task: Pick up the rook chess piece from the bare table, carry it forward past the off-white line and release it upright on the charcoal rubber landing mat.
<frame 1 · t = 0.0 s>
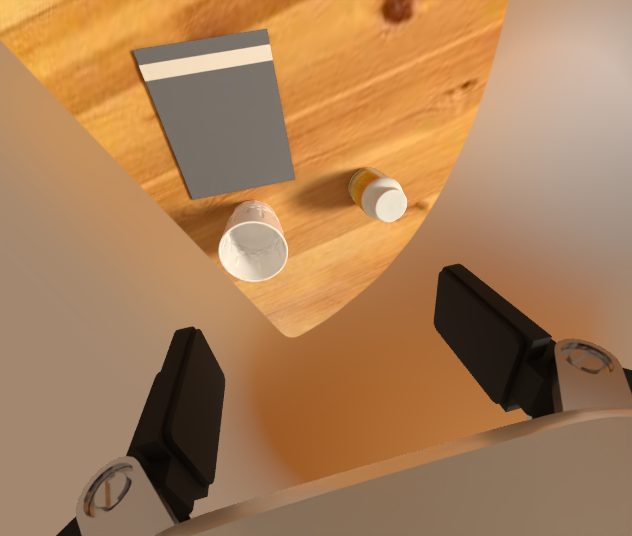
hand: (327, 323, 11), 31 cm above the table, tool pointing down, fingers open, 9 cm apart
supplement bottle: (364, 185, 41), on the table
landing mat: (226, 123, 34), on the table
white cup: (254, 221, 41), on the table
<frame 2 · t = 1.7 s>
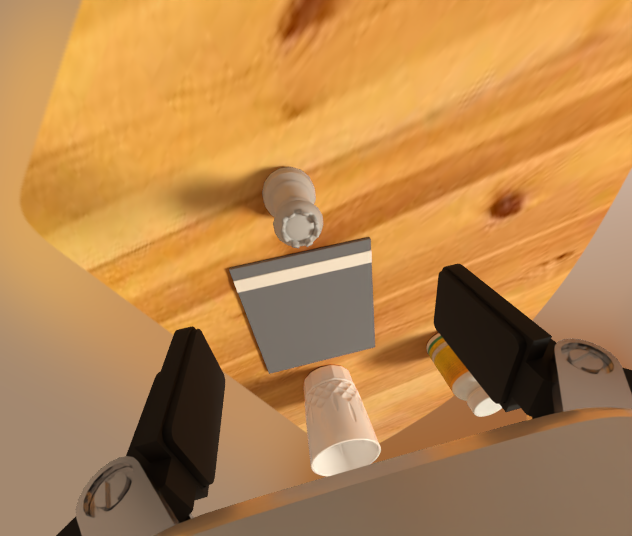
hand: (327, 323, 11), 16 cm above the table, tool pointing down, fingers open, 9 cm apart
rook chess piece: (288, 191, 24), on the table
supplement bottle: (442, 340, 39), on the table
landing mat: (313, 312, 31), on the table
white cup: (326, 379, 39), on the table
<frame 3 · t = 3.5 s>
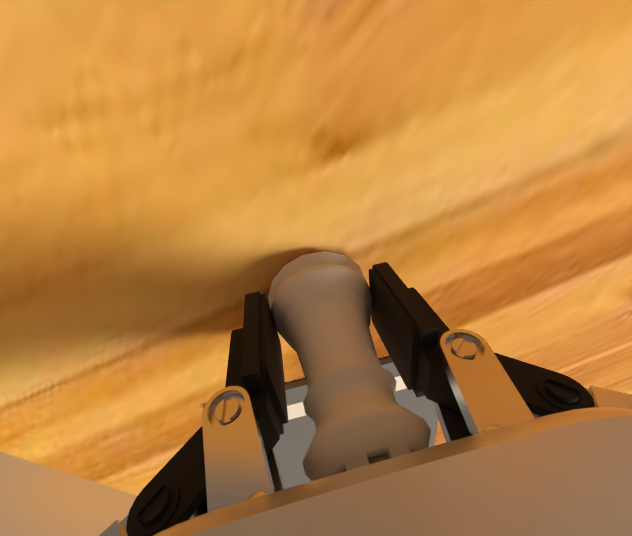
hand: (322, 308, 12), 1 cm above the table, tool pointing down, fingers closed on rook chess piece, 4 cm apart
rook chess piece: (316, 286, 13), on the table, touching gripper
landing mat: (344, 441, 20), on the table
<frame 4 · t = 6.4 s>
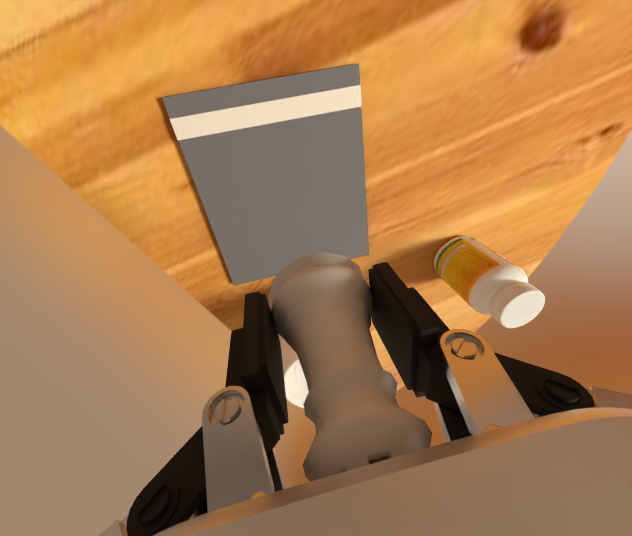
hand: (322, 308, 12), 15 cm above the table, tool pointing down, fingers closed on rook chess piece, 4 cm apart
rook chess piece: (316, 287, 13), point 14 cm above the table, touching gripper
supplement bottle: (453, 255, 31), on the table
landing mat: (286, 190, 24), on the table
white cup: (309, 303, 31), on the table
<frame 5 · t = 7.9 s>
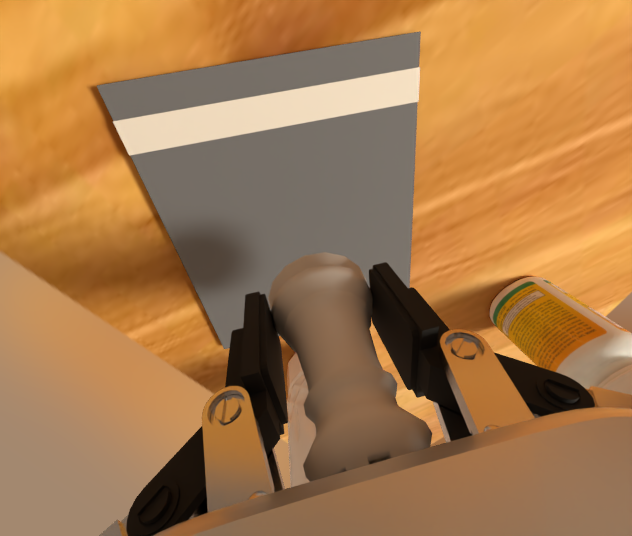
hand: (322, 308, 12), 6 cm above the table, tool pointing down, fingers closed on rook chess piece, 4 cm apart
rook chess piece: (316, 288, 13), point 5 cm above the table, touching gripper
supplement bottle: (514, 299, 24), on the table
landing mat: (298, 225, 16), on the table
white cup: (325, 362, 24), on the table
when the fingers open (3 cm above the table, at t = 9.3 s): rook chess piece drops 1 cm, resting on landing mat.
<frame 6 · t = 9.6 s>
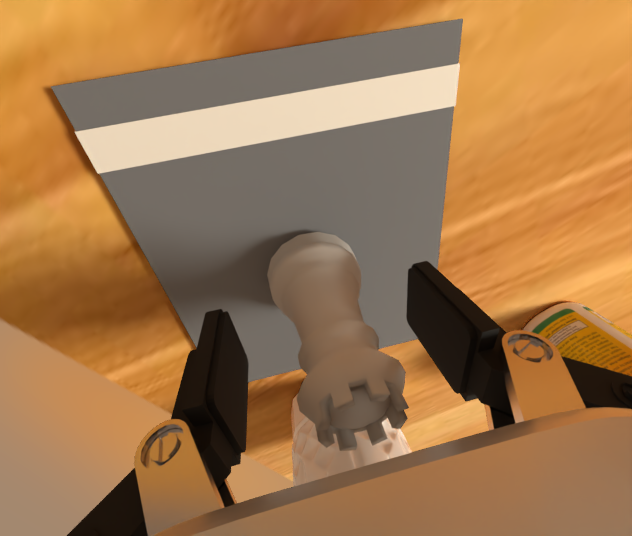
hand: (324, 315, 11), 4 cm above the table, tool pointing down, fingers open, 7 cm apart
rook chess piece: (311, 266, 14), resting on landing mat
supplement bottle: (545, 326, 21), on the table
landing mat: (306, 251, 14), on the table
white cup: (334, 397, 21), on the table
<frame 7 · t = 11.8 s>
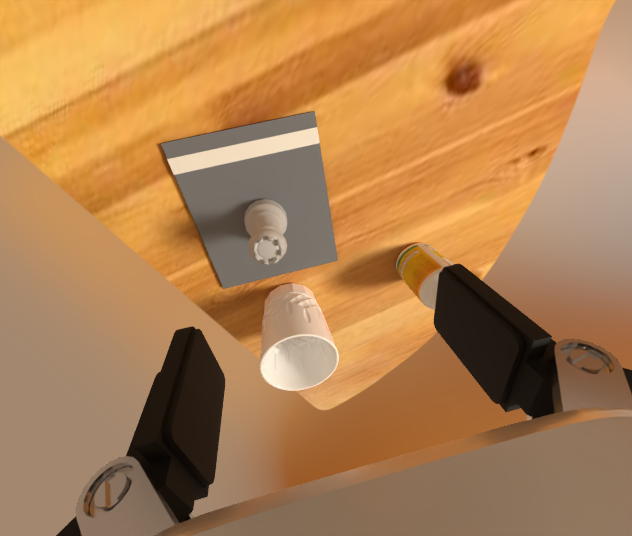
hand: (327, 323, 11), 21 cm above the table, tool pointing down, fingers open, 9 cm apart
rook chess piece: (265, 217, 30), resting on landing mat
supplement bottle: (413, 259, 36), on the table
landing mat: (263, 210, 29), on the table
white cup: (290, 303, 36), on the table
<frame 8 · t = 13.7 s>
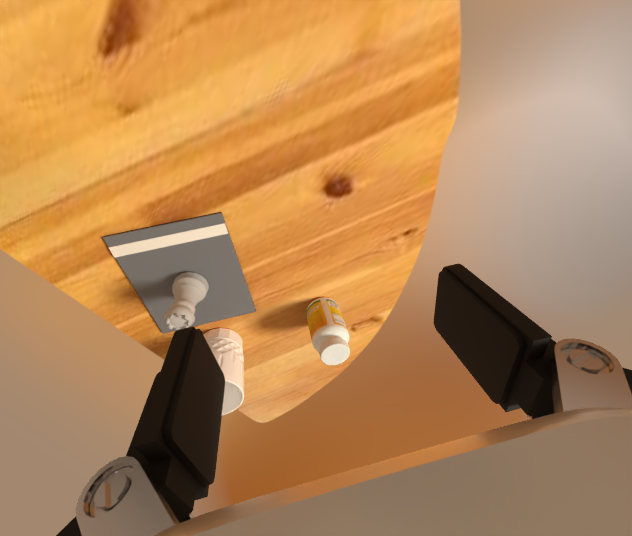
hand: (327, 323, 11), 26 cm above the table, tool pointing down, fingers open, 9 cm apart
rook chess piece: (192, 283, 38), resting on landing mat
supplement bottle: (321, 308, 45), on the table
landing mat: (189, 277, 38), on the table
white cup: (221, 342, 45), on the table
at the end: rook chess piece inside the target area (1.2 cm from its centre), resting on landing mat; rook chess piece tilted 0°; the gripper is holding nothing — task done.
